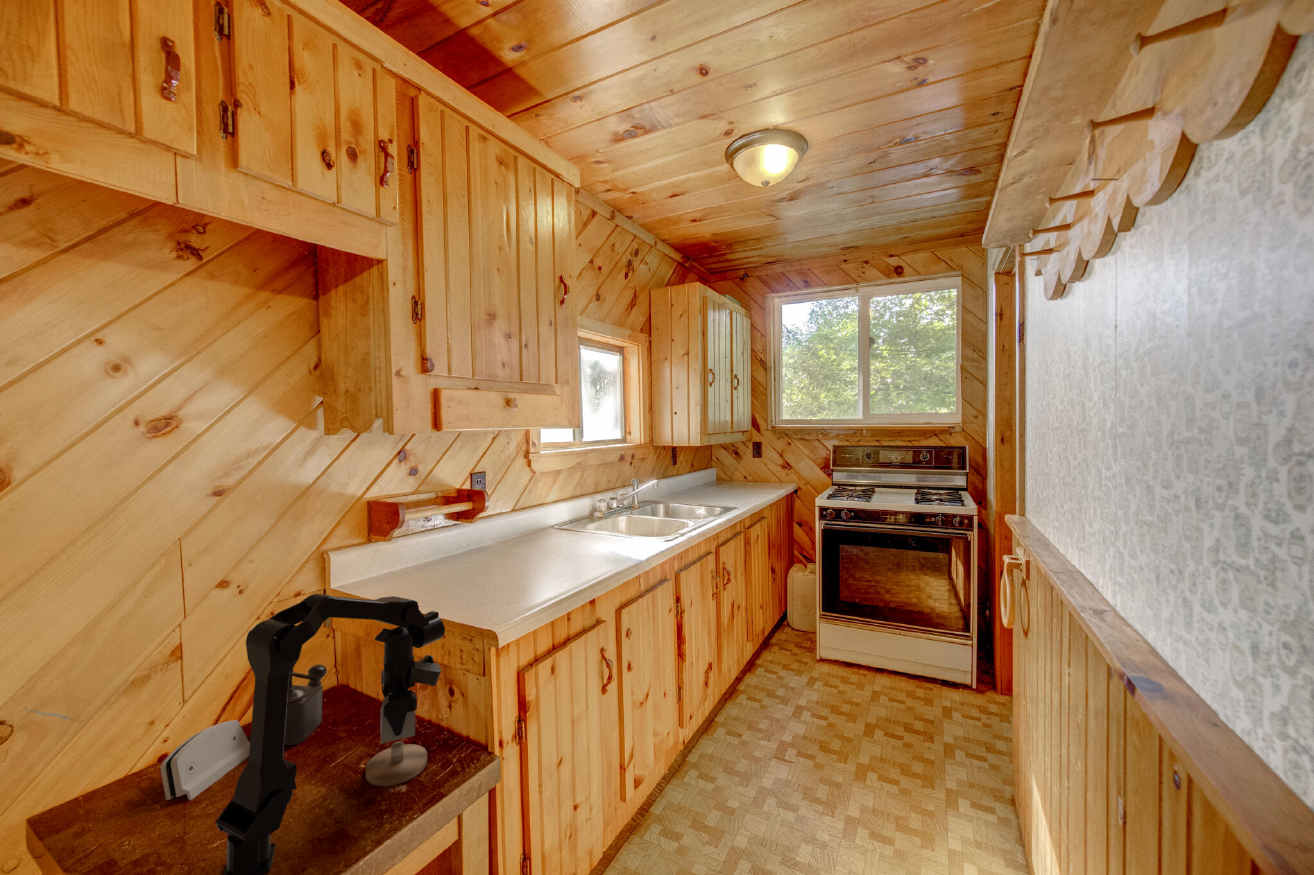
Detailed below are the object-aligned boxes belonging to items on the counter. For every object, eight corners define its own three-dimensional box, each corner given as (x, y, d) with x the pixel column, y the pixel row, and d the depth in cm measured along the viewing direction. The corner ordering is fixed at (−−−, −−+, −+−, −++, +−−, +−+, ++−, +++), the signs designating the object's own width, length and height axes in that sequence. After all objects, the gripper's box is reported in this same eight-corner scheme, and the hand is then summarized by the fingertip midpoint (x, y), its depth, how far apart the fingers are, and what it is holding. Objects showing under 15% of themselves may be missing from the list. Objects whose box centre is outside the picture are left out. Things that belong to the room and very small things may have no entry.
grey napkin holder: (189, 801, 101) (173, 752, 101) (167, 808, 101) (151, 760, 101) (257, 749, 118) (243, 708, 118) (238, 756, 118) (224, 714, 118)
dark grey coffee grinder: (248, 749, 118) (249, 671, 118) (279, 722, 129) (280, 651, 129) (319, 746, 119) (321, 669, 119) (344, 720, 130) (345, 649, 130)
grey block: (414, 735, 111) (415, 712, 111) (381, 743, 108) (381, 720, 108) (412, 721, 116) (412, 699, 116) (380, 728, 113) (380, 705, 113)
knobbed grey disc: (429, 775, 110) (430, 751, 110) (365, 793, 104) (365, 768, 104) (424, 745, 120) (424, 724, 120) (365, 760, 114) (365, 738, 114)
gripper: (444, 665, 108) (442, 739, 108) (433, 635, 124) (432, 699, 124) (384, 676, 102) (382, 754, 102) (381, 643, 119) (380, 711, 119)
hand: (397, 727), depth 112 cm, fingers closed on grey block, 6 cm apart
